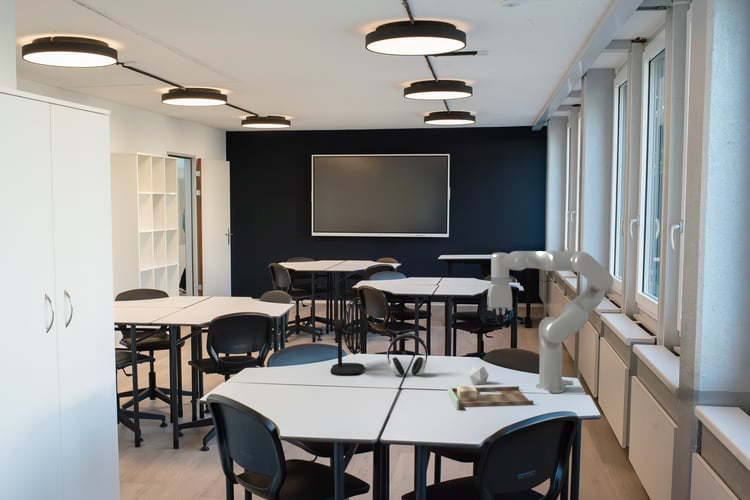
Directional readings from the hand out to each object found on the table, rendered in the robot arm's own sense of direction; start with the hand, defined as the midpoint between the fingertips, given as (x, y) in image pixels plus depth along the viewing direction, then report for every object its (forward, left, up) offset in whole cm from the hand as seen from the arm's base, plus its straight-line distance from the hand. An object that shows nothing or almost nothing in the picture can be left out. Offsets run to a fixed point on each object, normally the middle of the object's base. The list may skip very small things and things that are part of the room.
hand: (499, 323), depth 304 cm
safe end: (+23, +16, -29) cm, 41 cm away
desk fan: (+64, -40, -29) cm, 81 cm away
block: (+18, +15, -28) cm, 36 cm away
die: (+7, -10, -29) cm, 32 cm away
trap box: (+9, +16, -29) cm, 34 cm away
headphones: (+37, -28, -29) cm, 55 cm away
